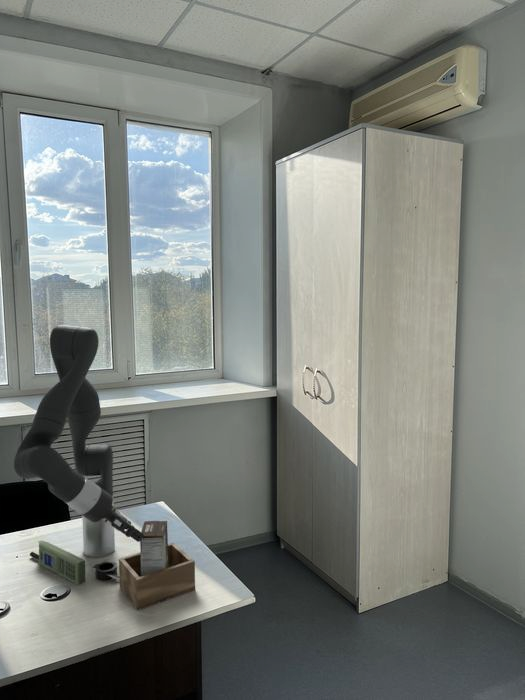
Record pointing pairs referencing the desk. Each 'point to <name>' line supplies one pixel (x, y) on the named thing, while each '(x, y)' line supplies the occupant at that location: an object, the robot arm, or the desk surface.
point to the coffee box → (154, 547)
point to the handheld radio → (61, 562)
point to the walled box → (157, 578)
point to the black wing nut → (106, 571)
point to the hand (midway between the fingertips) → (134, 532)
